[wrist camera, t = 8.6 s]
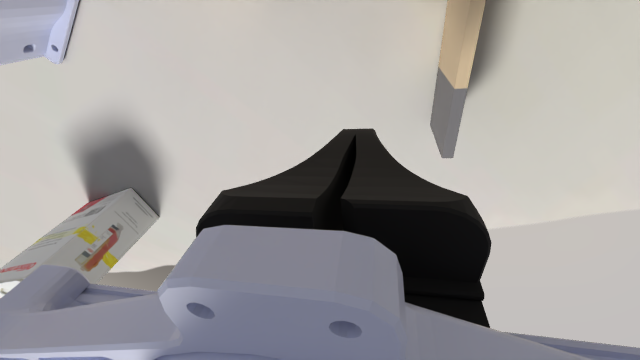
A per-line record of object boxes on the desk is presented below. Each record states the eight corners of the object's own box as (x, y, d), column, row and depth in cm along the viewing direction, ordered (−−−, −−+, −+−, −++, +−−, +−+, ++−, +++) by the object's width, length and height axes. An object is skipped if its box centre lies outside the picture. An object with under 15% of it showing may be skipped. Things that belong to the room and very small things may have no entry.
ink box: (117, 229, 35) (21, 317, 26) (87, 201, 33) (-31, 287, 23) (162, 218, 32) (71, 314, 23) (133, 186, 30) (18, 279, 20)
